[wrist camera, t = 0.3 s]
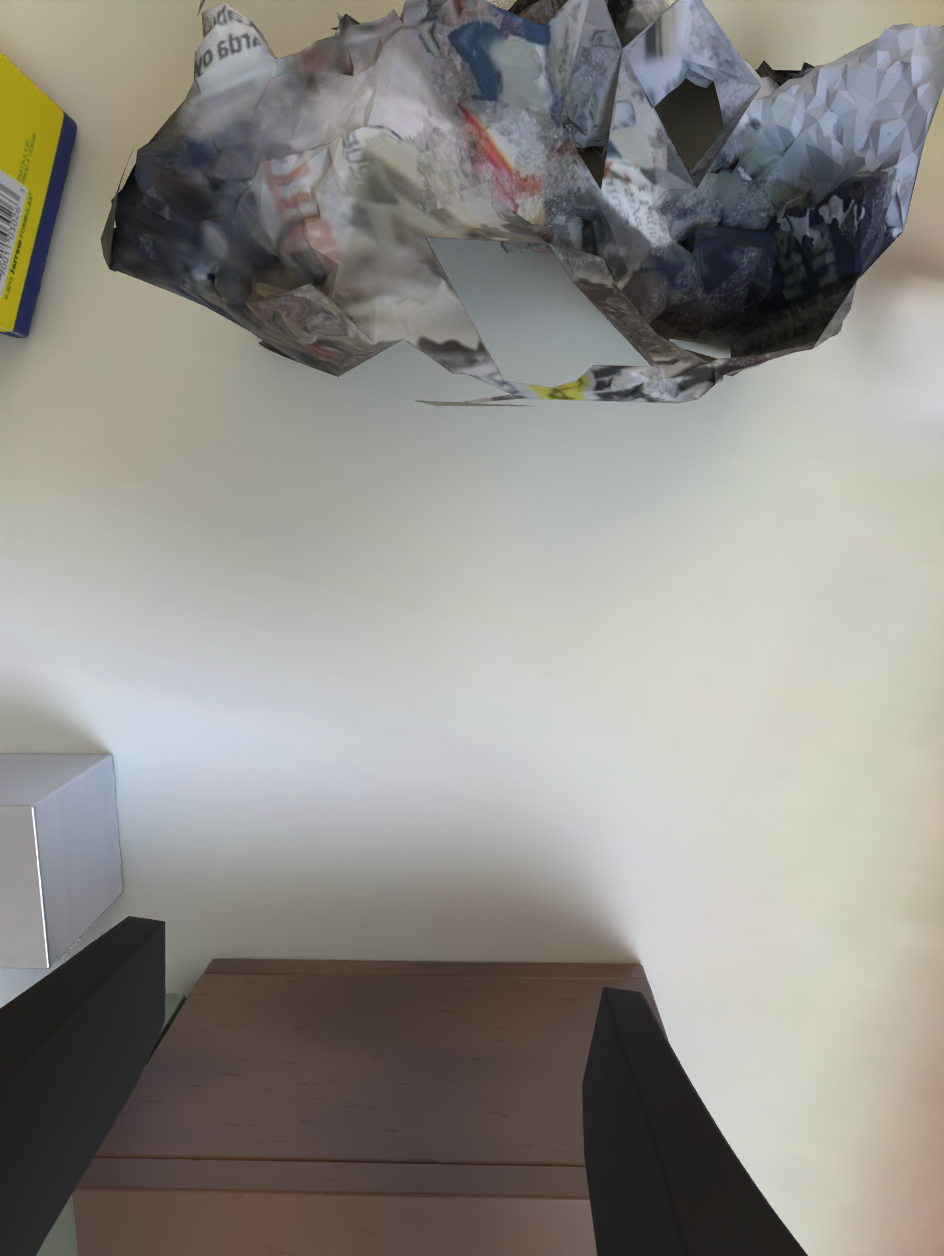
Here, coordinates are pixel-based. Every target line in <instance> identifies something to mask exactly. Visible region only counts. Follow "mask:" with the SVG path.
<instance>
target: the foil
mask: <svg viewBox="0 0 944 1256" xmlns="http://www.w3.org/2000/svg"><path fill="white" fill-rule="evenodd" d="M204 2H205V0H202V1H201V4H200V7H199V11H198V14H199V12H200V10H201V8H202V6H203V4H204ZM337 14H338V18H339V26H338V27H336V28H331V29H335V30H337V31H336V34H335V35H334V36H331V37H328V38H325V39H322V40H319V41H316V42H314V43H313V44H311V45H310V46H308V47H307V48H305V49H304V50H302V51H301V52H299V53H296V54H293V55H290V56H286V57H282V58H278V59H277V58H276V57H275V55H274V53H273V52H272V50H271V48H270V47H269V45H268V43H267V42H266V40H265V38H264V37H263V35H262V34H261V32H260V31H259V30H258V29H257V27H256V26H255V25H254V24H253V22H252V21H250V20H249V19H247V18H246V17H245V16H243V15H242V14H240V13H239V12H237V11H236V10H235V9H233V8H232V7H230V6H229V5H228V4H226V3H225V2H224V3H222V4H220V5H218V6H216V7H214V8H212V9H210V10H207V11H205V12H202V22H203V36H204V40H203V41H202V43H201V45H200V46H199V48H198V49H197V51H196V52H195V68H194V82H193V84H192V86H191V88H190V91H189V93H188V95H187V97H186V99H185V101H184V102H183V103H182V104H181V105H180V106H179V107H178V108H177V110H176V111H175V112H174V113H173V114H172V115H171V116H170V118H169V119H168V120H167V121H166V122H165V124H164V125H163V126H162V127H161V129H160V130H159V131H158V132H157V133H156V135H155V136H154V137H153V138H152V139H151V141H150V142H149V143H148V144H146V145H145V146H143V147H142V148H140V149H139V150H138V151H137V159H136V164H135V166H134V167H133V169H132V171H131V173H130V175H129V177H128V179H127V181H126V183H125V185H124V187H123V189H122V190H121V191H120V192H119V187H120V184H119V187H118V190H117V193H116V196H115V197H114V198H113V199H112V200H111V202H112V207H111V210H110V213H109V216H108V219H107V222H106V225H105V228H104V231H103V234H102V237H101V244H102V249H103V255H104V259H105V261H106V263H107V265H108V267H109V269H111V270H113V271H115V272H116V270H117V271H119V272H122V273H124V274H127V275H130V276H132V277H135V278H137V279H140V280H142V281H145V282H147V283H150V284H153V285H155V286H158V287H160V288H163V289H165V290H168V291H170V292H173V293H175V294H177V295H180V296H182V297H184V298H187V299H189V300H192V301H194V302H196V303H199V304H201V305H203V306H205V307H207V308H209V309H211V310H213V311H214V312H216V313H218V314H220V315H222V316H224V317H225V318H227V319H229V320H231V321H233V322H234V323H236V324H238V325H240V326H242V327H243V328H245V329H247V330H249V331H251V332H252V333H254V334H255V335H256V336H257V337H259V338H261V339H262V340H263V341H261V342H259V344H260V345H262V346H263V347H265V348H267V349H269V350H271V351H273V352H275V353H277V354H280V355H282V356H284V357H287V358H289V359H292V360H294V361H297V362H300V363H302V364H305V365H308V366H310V367H313V368H316V369H318V370H321V371H324V372H326V373H329V374H332V375H335V376H337V377H338V376H340V375H342V374H343V373H345V372H347V371H349V370H350V369H352V368H354V367H355V366H357V365H359V364H361V363H362V362H364V361H366V360H368V359H369V358H371V357H373V356H374V355H376V354H378V353H380V352H381V351H383V350H385V349H387V348H388V347H390V346H392V345H393V344H395V343H397V342H399V341H400V340H402V339H403V340H405V341H406V342H408V343H409V344H411V345H412V346H414V347H416V348H417V349H419V350H420V351H422V352H423V353H425V354H427V355H428V356H430V357H431V358H432V359H434V360H435V361H436V362H438V363H439V364H440V365H442V366H443V367H444V368H446V369H447V370H448V371H450V372H451V373H452V374H464V375H470V376H472V377H475V378H477V379H479V380H481V381H484V382H486V383H488V384H490V385H492V386H495V387H497V388H499V389H501V390H504V391H506V392H508V393H510V394H513V395H506V396H499V397H492V398H485V399H478V400H471V401H464V402H435V401H417V402H422V403H427V404H432V405H442V406H524V405H502V404H479V403H473V402H485V401H497V400H510V399H522V398H529V399H561V400H593V401H626V402H661V403H681V402H686V401H691V400H696V399H699V398H700V397H701V396H702V395H704V394H705V393H706V392H707V391H708V390H709V389H710V388H711V387H713V386H714V385H715V384H716V383H718V382H720V381H722V380H723V375H730V376H734V375H736V374H737V373H739V372H740V371H742V370H744V369H747V368H751V367H755V366H758V365H760V364H762V363H764V362H767V361H768V360H771V359H774V358H778V357H781V356H784V355H787V354H790V353H793V352H798V351H804V350H810V349H813V348H815V347H816V346H818V345H819V344H821V343H822V342H824V341H825V340H827V339H828V338H830V337H832V336H835V335H837V334H838V333H839V332H840V331H841V326H842V322H843V320H844V319H845V317H846V315H847V314H848V312H849V311H850V309H851V304H852V300H853V295H854V291H855V286H856V282H857V280H858V279H859V278H860V277H861V276H862V275H863V274H864V273H865V272H866V270H867V269H868V268H869V267H870V266H871V265H872V264H873V263H874V262H875V261H876V260H877V259H878V258H879V257H880V256H881V254H882V253H883V252H884V251H885V250H886V249H887V248H888V247H889V246H890V245H891V244H892V243H893V242H894V241H895V240H896V238H897V237H898V236H899V235H900V234H901V233H902V232H903V231H904V227H905V223H906V219H907V214H908V210H909V206H910V202H911V197H912V193H913V189H914V184H915V180H916V176H917V172H918V167H919V163H920V159H921V154H922V150H923V146H924V142H925V138H926V135H927V133H928V130H929V127H930V124H931V121H932V119H933V116H934V113H935V110H936V107H937V104H938V102H939V99H940V96H941V94H942V91H943V89H944V25H943V26H942V27H937V26H931V25H928V26H923V27H916V26H914V25H913V24H912V23H909V24H901V25H894V26H892V27H891V28H890V29H885V30H884V32H883V34H882V35H881V37H879V38H877V39H875V40H873V41H871V42H869V43H867V44H865V45H863V46H861V47H859V48H858V49H856V50H854V51H852V52H850V53H848V54H846V55H844V56H842V57H841V58H839V59H837V60H835V61H833V62H831V63H829V64H826V65H819V66H816V67H814V66H812V65H810V64H808V63H806V62H804V64H803V67H802V70H801V71H795V70H773V69H772V68H771V67H770V66H769V65H768V64H767V63H766V62H765V61H763V62H762V64H761V65H760V67H759V68H758V70H754V69H753V68H752V66H751V65H750V64H749V63H748V61H747V60H746V59H744V60H743V59H742V58H741V56H740V55H739V53H738V52H737V51H736V49H735V48H734V46H733V45H732V43H731V42H730V41H729V39H728V38H727V36H726V35H725V34H724V32H723V31H722V29H721V28H720V26H719V25H718V24H717V22H716V21H715V19H714V18H713V16H712V15H711V14H710V12H709V11H708V9H707V8H706V7H705V5H704V4H703V2H702V1H701V0H677V1H676V2H675V3H673V4H672V5H671V6H670V7H669V6H668V5H667V3H666V2H665V1H664V0H517V1H516V2H515V3H514V5H513V6H512V7H511V8H510V9H509V10H508V11H506V10H503V9H501V8H499V7H497V6H495V5H493V4H491V3H489V2H487V1H485V0H406V2H405V5H404V8H403V11H402V14H401V18H399V16H398V15H397V13H396V12H395V10H394V9H393V10H392V11H391V12H390V13H389V15H388V16H387V17H386V18H382V19H378V20H374V21H370V22H367V23H362V24H360V23H358V22H357V21H356V20H354V19H353V18H351V17H350V16H349V15H347V14H345V15H344V17H342V16H341V15H340V14H339V13H337ZM197 16H198V15H197ZM186 34H187V33H186ZM685 78H687V79H688V80H690V81H691V82H692V83H694V84H695V85H698V86H701V87H704V88H707V87H708V86H709V85H710V84H711V83H712V82H714V84H715V88H716V92H717V96H718V100H719V104H720V109H721V115H722V121H723V130H722V131H721V132H720V134H719V135H718V136H717V138H716V139H715V140H714V142H713V143H712V145H711V146H710V147H709V149H708V150H707V151H706V153H705V154H704V155H703V157H702V158H701V159H700V160H699V161H698V162H697V164H696V165H695V166H694V167H693V168H692V169H691V171H690V172H689V173H688V172H687V170H686V168H685V166H684V164H683V162H682V160H681V158H680V156H679V155H678V153H677V151H676V149H675V147H674V145H673V143H672V141H671V139H670V138H669V136H668V134H667V132H666V130H665V128H664V126H663V124H662V122H661V121H660V119H659V117H658V115H657V113H656V111H655V109H654V107H655V106H656V105H657V104H658V103H659V102H660V101H661V100H662V99H663V98H664V97H665V96H666V95H667V94H668V93H670V92H671V91H673V90H674V89H675V88H677V87H678V86H679V85H680V84H681V83H682V82H683V81H684V79H685ZM151 110H152V109H151ZM145 123H146V122H145ZM139 136H140V135H139ZM590 146H591V147H592V148H593V149H594V150H595V151H596V152H597V153H598V154H599V155H600V156H601V158H602V156H603V155H604V153H605V152H606V151H607V154H606V161H605V167H604V174H603V180H602V187H601V190H600V188H599V186H598V185H597V183H596V181H595V180H594V178H593V176H592V175H591V173H590V171H589V170H588V168H587V166H586V165H585V163H584V161H583V160H582V158H581V156H580V155H581V154H583V153H585V151H586V150H587V148H588V147H590ZM131 154H132V153H131ZM130 156H131V155H130ZM129 159H130V158H129ZM128 161H129V160H128ZM127 164H128V163H127ZM126 166H127V165H126ZM125 169H126V168H125ZM124 172H125V170H124ZM123 175H124V173H123ZM122 178H123V176H122ZM122 178H121V180H122ZM120 183H121V181H120ZM118 192H119V193H118ZM114 220H115V222H116V228H114ZM425 237H435V238H453V239H472V240H490V241H501V246H502V248H503V249H504V250H505V251H506V253H514V252H552V253H554V254H555V255H556V257H557V258H558V260H559V261H560V263H561V265H562V266H563V268H564V269H565V271H566V272H567V274H568V275H569V277H570V278H571V280H572V281H573V282H574V284H575V285H576V286H577V287H578V288H579V289H580V290H581V291H582V292H583V293H584V294H585V295H586V296H587V297H588V299H589V300H590V301H591V302H592V303H593V304H594V305H595V306H596V307H597V308H598V309H599V310H600V311H601V313H602V314H603V315H604V316H605V317H606V318H607V319H608V320H609V321H610V322H611V323H612V324H613V325H614V326H615V328H616V329H617V330H618V331H619V332H620V333H621V334H622V335H623V336H624V337H625V338H626V339H627V340H628V341H629V343H630V344H631V345H632V346H633V347H634V348H635V349H636V350H637V351H638V352H639V353H640V354H641V355H642V357H643V358H644V359H645V360H646V361H647V362H648V363H649V364H650V365H651V366H652V367H649V366H604V365H593V366H592V367H591V368H590V369H589V370H588V371H587V372H586V373H585V374H584V375H583V376H582V377H580V378H579V379H578V380H577V381H575V382H571V383H568V384H564V385H561V386H558V387H554V388H549V387H542V386H536V385H529V384H523V383H516V382H510V381H504V379H503V377H502V376H501V374H500V372H499V370H498V368H497V367H496V365H495V363H494V361H493V359H492V357H491V356H490V354H489V352H488V350H487V348H486V347H485V345H484V343H483V341H482V339H481V338H480V336H479V334H478V332H477V330H476V328H475V327H474V325H473V323H472V321H471V319H470V318H469V316H468V314H467V312H466V310H465V309H464V307H463V305H462V303H461V301H460V299H459V298H458V296H457V294H456V292H455V290H454V289H453V287H452V285H451V283H450V281H449V279H448V278H447V276H446V274H445V272H444V270H443V269H442V267H441V265H440V263H439V261H438V260H437V258H436V256H435V254H434V252H433V250H432V249H431V247H430V245H429V243H428V241H427V240H426V238H425ZM670 338H671V339H678V340H684V341H691V342H698V343H704V344H711V345H718V346H724V347H731V358H723V359H716V358H713V357H709V356H706V355H703V354H699V353H696V352H692V351H689V350H685V349H682V348H680V347H678V346H677V345H675V344H673V343H671V342H669V341H668V340H669V339H670Z"/></svg>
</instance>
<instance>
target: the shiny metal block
mask: <svg viewBox="0 0 944 1256" xmlns="http://www.w3.org/2000/svg"><path fill="white" fill-rule="evenodd" d="M122 892H123V882H122V870H121V857H120V844H119V832H118V819H117V807H116V794H115V781H114V769H113V757H112V755H69V754H0V968H33V969H48V968H50V967H51V966H52V965H53V964H54V963H55V962H56V961H57V960H58V959H59V958H60V957H61V956H62V955H63V954H64V953H65V952H66V951H67V950H68V949H69V948H70V947H71V945H72V944H73V943H74V942H75V941H76V940H77V939H78V938H79V937H80V936H81V935H82V934H83V933H84V932H85V931H86V930H87V929H88V928H89V927H90V926H91V925H92V924H93V923H94V922H95V920H96V919H97V918H98V917H99V916H100V915H101V914H102V913H103V912H104V911H105V910H106V909H107V908H108V907H109V906H110V905H111V904H112V903H113V902H114V901H115V900H116V899H117V898H118V897H119V895H120V894H121V893H122Z"/></svg>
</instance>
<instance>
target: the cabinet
mask: <svg viewBox="0 0 944 1256" xmlns="http://www.w3.org/2000/svg"><path fill="white" fill-rule="evenodd" d="M603 986H604V987H611V988H617V989H624V990H631V991H638V992H641V993H642V994H643V995H644V997H645V998H646V999H647V1001H648V1003H649V1005H650V1007H651V1009H652V1011H653V1013H654V1015H655V1017H656V1019H657V1021H658V1023H659V1025H660V1027H661V1029H662V1031H663V1033H664V1034H665V1036H666V1038H667V1035H666V1032H665V1029H664V1026H663V1023H662V1020H661V1017H660V1014H659V1011H658V1008H657V1006H656V1003H655V1000H654V997H653V994H652V991H651V988H650V985H649V982H648V980H647V977H646V974H645V971H644V968H643V966H642V965H641V964H583V963H504V962H425V961H346V960H267V959H213V960H212V961H211V962H210V964H209V965H208V967H207V969H206V970H205V972H204V974H203V975H202V976H201V978H200V979H199V981H198V983H197V984H196V986H195V987H194V989H193V991H192V992H191V994H190V996H189V997H188V999H187V1000H186V1002H185V1004H184V1005H183V1007H182V1009H181V1010H180V1012H179V1013H178V1015H177V1017H176V1018H175V1020H174V1022H173V1023H172V1025H171V1026H170V1028H169V1030H168V1031H167V1033H166V1034H165V1036H164V1038H163V1039H162V1041H161V1043H160V1044H159V1046H158V1047H157V1049H156V1051H155V1052H154V1054H153V1056H152V1057H151V1059H150V1060H149V1062H148V1064H147V1065H146V1067H145V1069H144V1070H143V1072H142V1074H141V1076H140V1078H139V1080H138V1082H137V1084H136V1086H135V1088H134V1090H133V1092H132V1093H131V1095H130V1097H129V1099H128V1100H127V1102H126V1104H125V1106H124V1107H123V1109H122V1111H121V1112H120V1114H119V1116H118V1117H117V1119H116V1121H115V1123H114V1124H113V1126H112V1128H111V1129H110V1131H109V1133H108V1134H107V1136H106V1138H105V1140H104V1141H103V1143H102V1145H101V1146H100V1148H99V1150H98V1151H97V1153H96V1155H95V1156H94V1158H93V1160H92V1161H91V1163H90V1165H89V1166H88V1168H87V1170H86V1172H85V1173H84V1175H83V1177H82V1178H81V1180H80V1182H79V1183H78V1185H77V1187H76V1188H75V1190H74V1192H73V1193H72V1195H71V1198H72V1209H73V1219H74V1229H75V1239H76V1249H77V1256H597V1250H596V1243H595V1235H594V1228H593V1220H592V1213H591V1205H590V1197H589V1189H588V1182H587V1174H586V1166H585V1157H584V1136H583V1103H582V1082H583V1077H584V1073H585V1068H586V1063H587V1059H588V1054H589V1050H590V1045H591V1040H592V1036H593V1031H594V1027H595V1022H596V1017H597V1013H598V1008H599V1004H600V999H601V995H602V990H603ZM667 1040H668V1038H667ZM668 1042H669V1041H668Z"/></svg>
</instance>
